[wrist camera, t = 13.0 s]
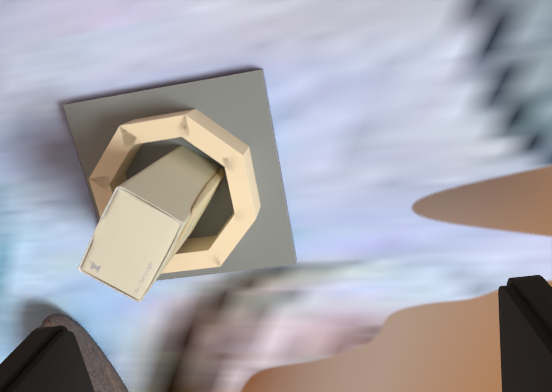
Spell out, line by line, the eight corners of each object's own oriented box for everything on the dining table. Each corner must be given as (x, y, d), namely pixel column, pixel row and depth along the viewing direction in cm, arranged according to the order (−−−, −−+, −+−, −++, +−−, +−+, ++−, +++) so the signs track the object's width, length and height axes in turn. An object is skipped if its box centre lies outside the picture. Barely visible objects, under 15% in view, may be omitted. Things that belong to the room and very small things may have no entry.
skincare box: (193, 230, 40) (140, 308, 28) (146, 203, 39) (73, 272, 28) (228, 168, 38) (186, 225, 26) (179, 139, 37) (115, 184, 26)
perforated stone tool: (41, 307, 45) (-7, 353, 38) (89, 293, 44) (48, 337, 37) (110, 429, 49) (76, 490, 42) (155, 418, 48) (128, 479, 41)
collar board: (262, 69, 36) (255, 72, 32) (296, 258, 41) (293, 281, 37) (69, 103, 38) (41, 110, 34) (122, 279, 43) (103, 302, 39)
